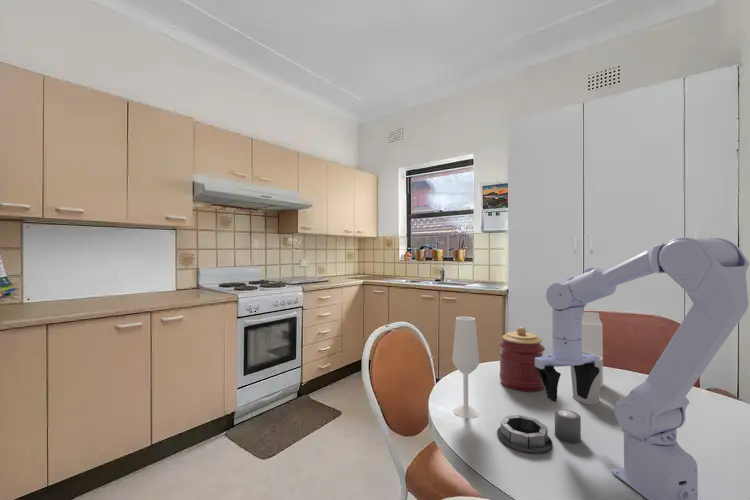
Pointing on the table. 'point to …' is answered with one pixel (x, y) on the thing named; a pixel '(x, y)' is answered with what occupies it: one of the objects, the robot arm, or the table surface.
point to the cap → (568, 426)
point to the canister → (520, 360)
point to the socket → (524, 434)
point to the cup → (595, 387)
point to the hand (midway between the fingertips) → (567, 398)
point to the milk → (592, 336)
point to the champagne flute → (465, 359)
